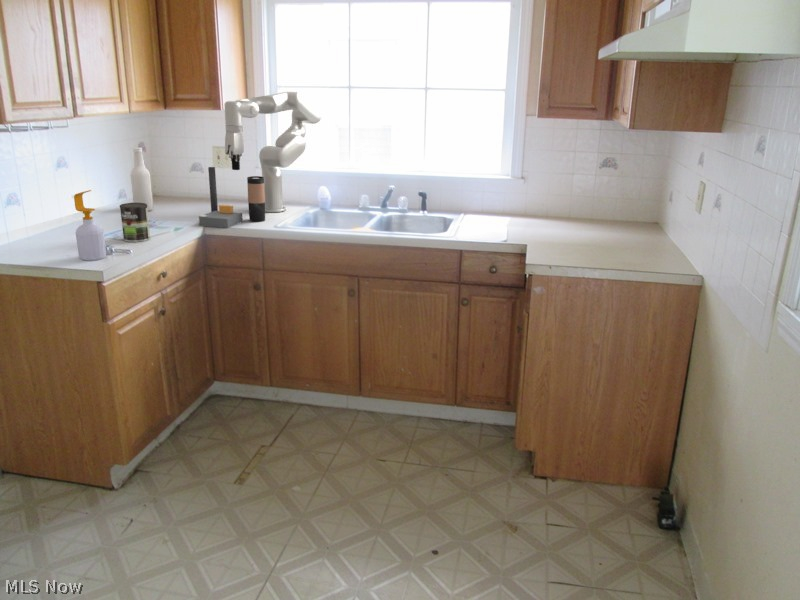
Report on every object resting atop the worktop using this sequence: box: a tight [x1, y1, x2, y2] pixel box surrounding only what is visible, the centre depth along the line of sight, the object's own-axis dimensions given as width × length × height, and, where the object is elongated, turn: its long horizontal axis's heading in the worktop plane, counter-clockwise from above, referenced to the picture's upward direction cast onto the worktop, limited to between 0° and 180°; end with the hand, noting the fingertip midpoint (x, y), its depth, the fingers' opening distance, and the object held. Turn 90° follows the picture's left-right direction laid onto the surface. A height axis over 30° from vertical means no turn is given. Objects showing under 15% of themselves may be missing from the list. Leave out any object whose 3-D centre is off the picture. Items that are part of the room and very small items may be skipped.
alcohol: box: [130, 146, 154, 212], centre depth 310 cm, size 9×9×30 cm
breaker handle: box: [218, 204, 234, 213], centre depth 295 cm, size 2×6×3 cm, turn 76°
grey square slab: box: [198, 210, 244, 229], centre depth 292 cm, size 14×14×4 cm
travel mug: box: [246, 175, 266, 223], centre depth 298 cm, size 8×8×20 cm
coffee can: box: [119, 202, 151, 243], centre depth 259 cm, size 10×10×14 cm
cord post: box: [207, 166, 219, 212], centre depth 302 cm, size 8×8×23 cm
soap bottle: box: [73, 189, 107, 262], centre depth 230 cm, size 9×9×25 cm
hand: (236, 169), depth 301 cm, fingers closed
